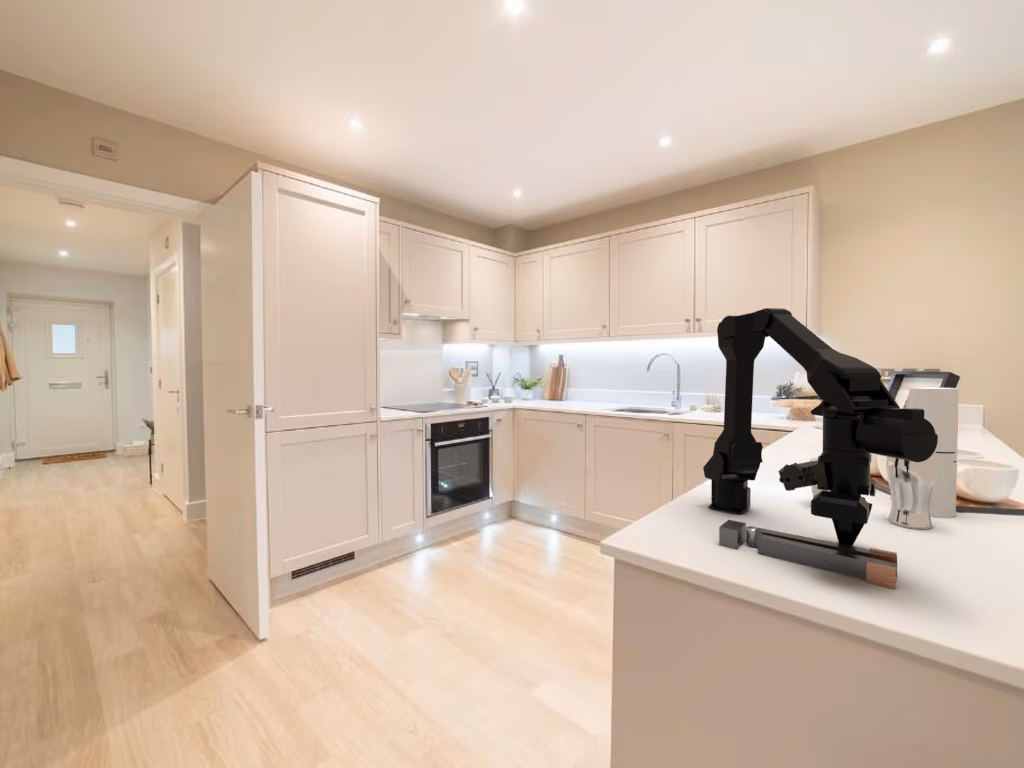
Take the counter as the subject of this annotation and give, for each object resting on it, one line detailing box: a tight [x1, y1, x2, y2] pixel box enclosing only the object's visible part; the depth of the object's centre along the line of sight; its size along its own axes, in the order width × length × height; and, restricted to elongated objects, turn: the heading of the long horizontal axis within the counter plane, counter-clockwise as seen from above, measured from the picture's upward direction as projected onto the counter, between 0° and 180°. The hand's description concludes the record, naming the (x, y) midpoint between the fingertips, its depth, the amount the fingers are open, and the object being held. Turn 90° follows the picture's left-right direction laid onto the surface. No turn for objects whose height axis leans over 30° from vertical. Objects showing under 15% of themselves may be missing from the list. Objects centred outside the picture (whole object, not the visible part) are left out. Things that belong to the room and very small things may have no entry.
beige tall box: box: [908, 386, 959, 519], centre depth 89 cm, size 7×7×25 cm
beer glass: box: [885, 449, 937, 531], centre depth 82 cm, size 7×7×15 cm
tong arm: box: [745, 525, 898, 578], centre depth 68 cm, size 19×3×3 cm, turn 51°
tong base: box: [718, 519, 898, 590], centre depth 68 cm, size 22×5×3 cm, turn 47°
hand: (845, 550), depth 67 cm, fingers closed
